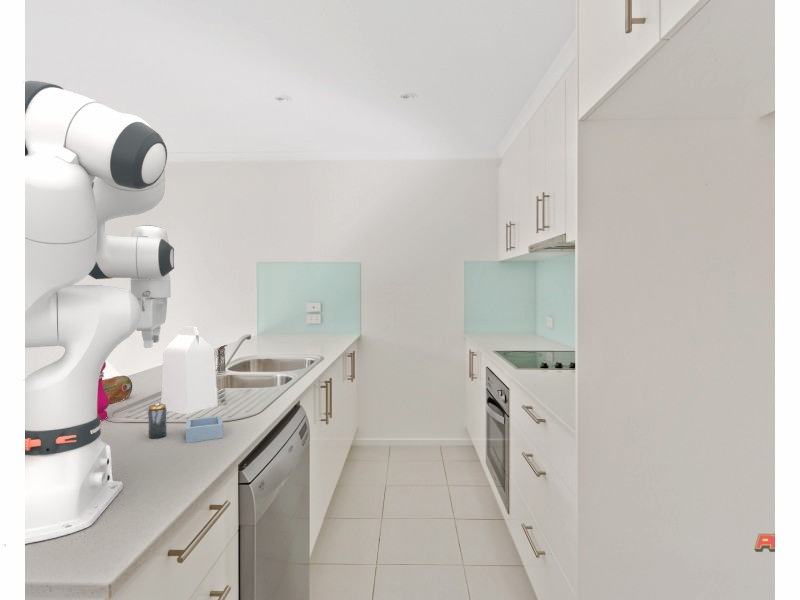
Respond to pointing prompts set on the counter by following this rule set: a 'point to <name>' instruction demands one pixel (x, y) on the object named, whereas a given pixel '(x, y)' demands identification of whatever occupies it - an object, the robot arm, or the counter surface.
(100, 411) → the pepper mill
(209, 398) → the milk
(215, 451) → the counter surface
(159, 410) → the cell
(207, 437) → the light blue square tray
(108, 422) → the counter surface
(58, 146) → the robot arm
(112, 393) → the tin
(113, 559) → the counter surface
